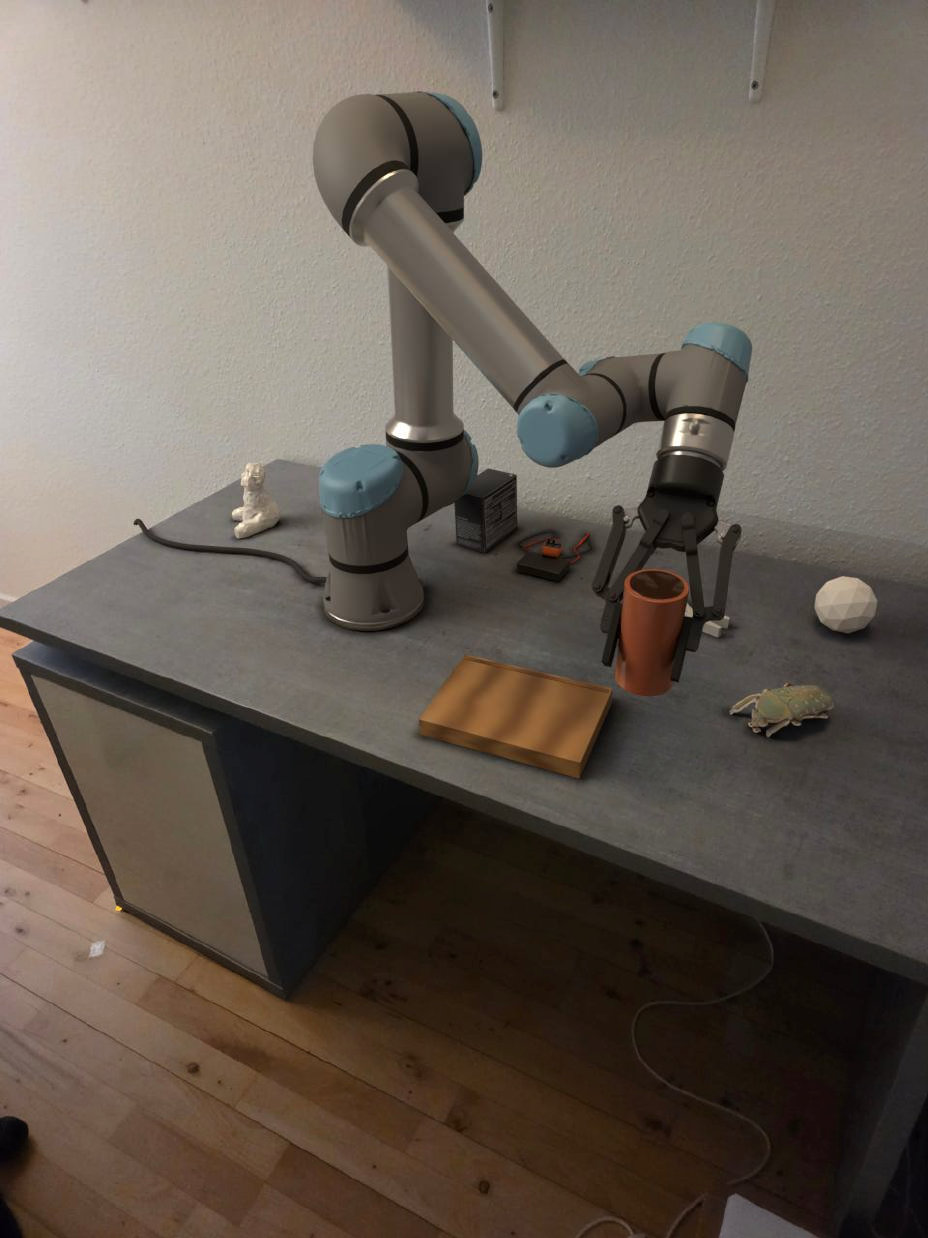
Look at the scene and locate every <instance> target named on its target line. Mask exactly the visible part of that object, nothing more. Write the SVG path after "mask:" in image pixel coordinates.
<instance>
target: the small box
mask: <svg viewBox="0 0 928 1238" xmlns="http://www.w3.org/2000/svg"><path fill="white" fill-rule="evenodd" d="M453 504H454V521H455V541H456V545H457V546H461V547H464V548H466V549H470V550H473V551H476V552H479V553H482V554H486V553H487V552H489V551H490V550H492V549H493V548H494V547H496V546H497V545H498V544H499V543H501V542H503V541H504V540H505V539H506V538H508V537H509V536H510V535H512V534H513V533H515V532H516V531H517V530H518V529H519V527H518V526H519V525H518V475H517V474H516V473H511V472H507V471H502V470H497V469H493V468H489V467H488V468H486V469H485V470H483V471H482V472H480V473H478V474H477V477H476V480H475V482H474V484H473V486H472V487H471V488H470V490H469V491H468V492H467V493H465V494H464V495H463V496H461V497H460V498H459V499H458V500H457V501H455V503H453Z"/></svg>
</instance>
